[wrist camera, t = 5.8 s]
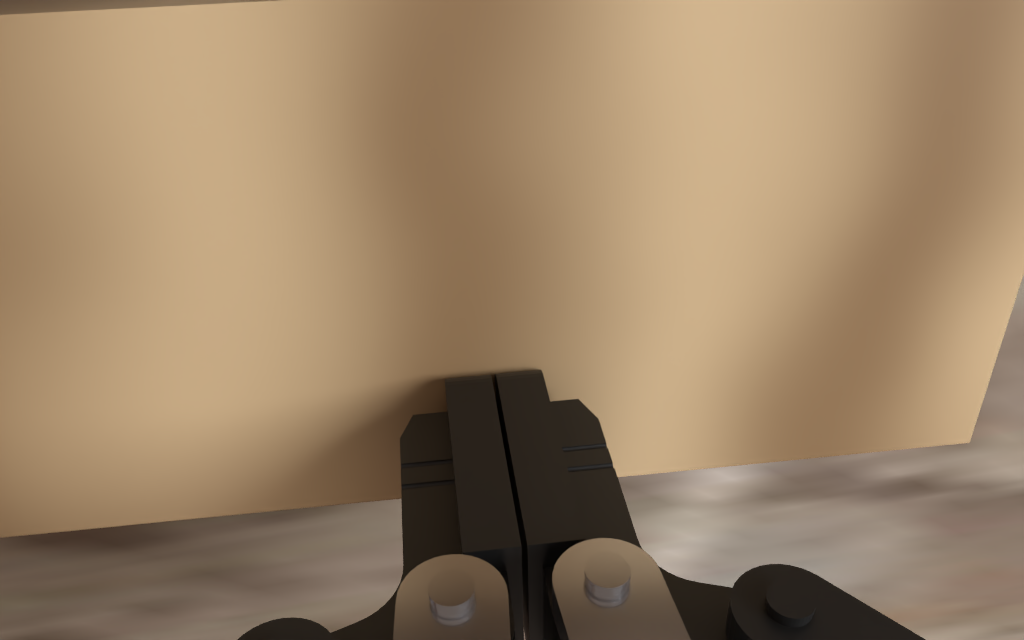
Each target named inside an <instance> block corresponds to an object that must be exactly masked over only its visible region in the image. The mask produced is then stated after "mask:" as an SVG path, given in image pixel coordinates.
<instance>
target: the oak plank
mask: <svg viewBox="0 0 1024 640" xmlns="http://www.w3.org/2000/svg"><path fill="white" fill-rule="evenodd" d="M1023 274H1024V0H0V538H2V537H13V536H23V535H33V534H43V533H53V532H64V531H74V530H84V529H94V528H104V527H115V526H125V525H135V524H145V523H155V522H166V521H176V520H186V519H196V518H206V517H217V516H227V515H237V514H247V513H257V512H268V511H278V510H288V509H298V508H308V507H319V506H329V505H339V504H349V503H359V502H370V501H380V500H390V499H400V498H402V496H401V490H402V488H401V462H400V437H401V435H402V434H403V432H404V430H405V428H406V426H407V425H408V423H409V421H410V419H411V417H412V416H413V415H416V414H426V413H437V412H447V405H446V392H445V379H447V378H457V377H468V376H479V375H491V377H492V382H493V388H494V393H495V399H496V392H495V374H499V373H510V372H520V371H531V370H542V372H543V376H544V379H545V383H546V387H547V391H548V395H549V399H550V401H560V400H571V399H579V400H580V401H581V402H582V403H583V404H584V405H585V406H586V407H587V408H588V409H589V410H590V411H591V412H592V413H593V414H594V415H595V416H596V417H597V418H598V419H599V422H600V425H601V428H602V431H603V434H604V437H605V440H606V445H607V448H608V450H609V453H610V456H611V459H612V462H613V468H615V471H616V474H617V477H625V476H635V475H645V474H655V473H665V472H676V471H686V470H696V469H706V468H716V467H727V466H737V465H747V464H757V463H767V462H778V461H788V460H798V459H808V458H818V457H829V456H839V455H849V454H859V453H869V452H880V451H890V450H900V449H910V448H920V447H931V446H941V445H951V444H961V443H970V440H971V436H972V433H973V430H974V427H975V424H976V421H977V418H978V415H979V411H980V408H981V405H982V402H983V399H984V396H985V393H986V390H987V387H988V383H989V380H990V377H991V374H992V371H993V368H994V365H995V362H996V358H997V355H998V352H999V349H1000V346H1001V343H1002V340H1003V337H1004V333H1005V330H1006V327H1007V324H1008V321H1009V318H1010V315H1011V312H1012V309H1013V305H1014V302H1015V299H1016V296H1017V293H1018V290H1019V287H1020V284H1021V280H1022V277H1023Z"/></svg>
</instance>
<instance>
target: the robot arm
mask: <svg viewBox="0 0 1024 640" xmlns="http://www.w3.org/2000/svg"><path fill="white" fill-rule="evenodd" d="M445 392H446V405H447V412H437V413H426V414H416V415H413V416H412V417H411V419H410V421H409V423H408V425H407V426H406V428H405V430H404V432H403V434H402V435H401V437H400V462H401V488H402V490H401V496H402V530H403V564H404V566H403V575H402V579H401V582H400V584H399V586H398V588H397V590H396V592H395V593H394V595H393V596H392V597H391V599H390V600H389V601H388V602H387V603H386V604H385V605H384V606H383V607H382V608H380V609H379V610H378V611H377V612H375V613H374V614H372V615H370V616H369V617H367V618H365V619H363V620H361V621H359V622H357V623H354V624H352V625H349V626H347V627H344V628H342V629H339V630H337V631H334V632H332V633H330V632H329V631H328V630H327V629H326V628H324V627H323V626H321V625H320V624H318V623H316V622H313V621H311V620H307V619H303V618H281V619H276V620H272V621H269V622H266V623H263V624H261V625H259V626H257V627H255V628H253V629H251V630H249V631H248V632H246V633H245V634H243V635H242V636H241V637H240V638H239V639H238V640H524V633H525V639H526V640H925V639H924V638H922V637H920V636H919V635H917V634H915V633H913V632H912V631H910V630H908V629H907V628H905V627H903V626H902V625H900V624H898V623H897V622H895V621H893V620H892V619H890V618H888V617H886V616H885V615H883V614H881V613H880V612H878V611H876V610H875V609H873V608H871V607H870V606H868V605H866V604H865V603H863V602H861V601H859V600H858V599H856V598H854V597H853V596H851V595H849V594H848V593H846V592H844V591H843V590H841V589H839V588H838V587H836V586H834V585H833V584H831V583H829V582H827V581H826V580H824V579H822V578H821V577H819V576H817V575H815V574H813V573H811V572H809V571H807V570H804V569H802V568H799V567H794V566H790V565H783V564H769V565H763V566H759V567H756V568H753V569H751V570H749V571H747V572H745V573H744V574H743V575H742V576H740V577H739V579H738V580H737V581H736V582H735V584H734V586H733V588H730V587H724V586H718V585H711V584H705V583H699V582H694V581H689V580H686V579H683V578H680V577H677V576H675V575H673V574H671V573H668V572H667V571H665V570H664V569H662V568H660V567H659V566H658V565H657V563H656V562H655V561H654V560H653V558H652V557H651V556H650V555H649V554H648V553H646V552H645V551H644V550H643V549H642V548H641V546H640V544H639V541H638V539H637V536H636V533H635V530H634V527H633V524H632V521H631V518H630V514H629V511H628V508H627V505H626V502H625V499H624V496H623V493H622V490H621V487H620V484H619V480H618V477H617V474H616V471H615V468H613V462H612V459H611V456H610V453H609V450H608V448H607V445H606V440H605V437H604V434H603V431H602V428H601V425H600V422H599V419H598V418H597V417H596V416H595V415H594V414H593V413H592V412H591V411H590V410H589V409H588V408H587V407H586V406H585V405H584V404H583V403H582V402H581V401H580V400H579V399H571V400H560V401H550V399H549V395H548V391H547V387H546V383H545V379H544V376H543V372H542V370H531V371H520V372H510V373H499V374H495V392H496V399H495V393H494V388H493V382H492V377H491V375H479V376H468V377H457V378H447V379H445ZM523 627H524V628H523Z"/></svg>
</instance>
